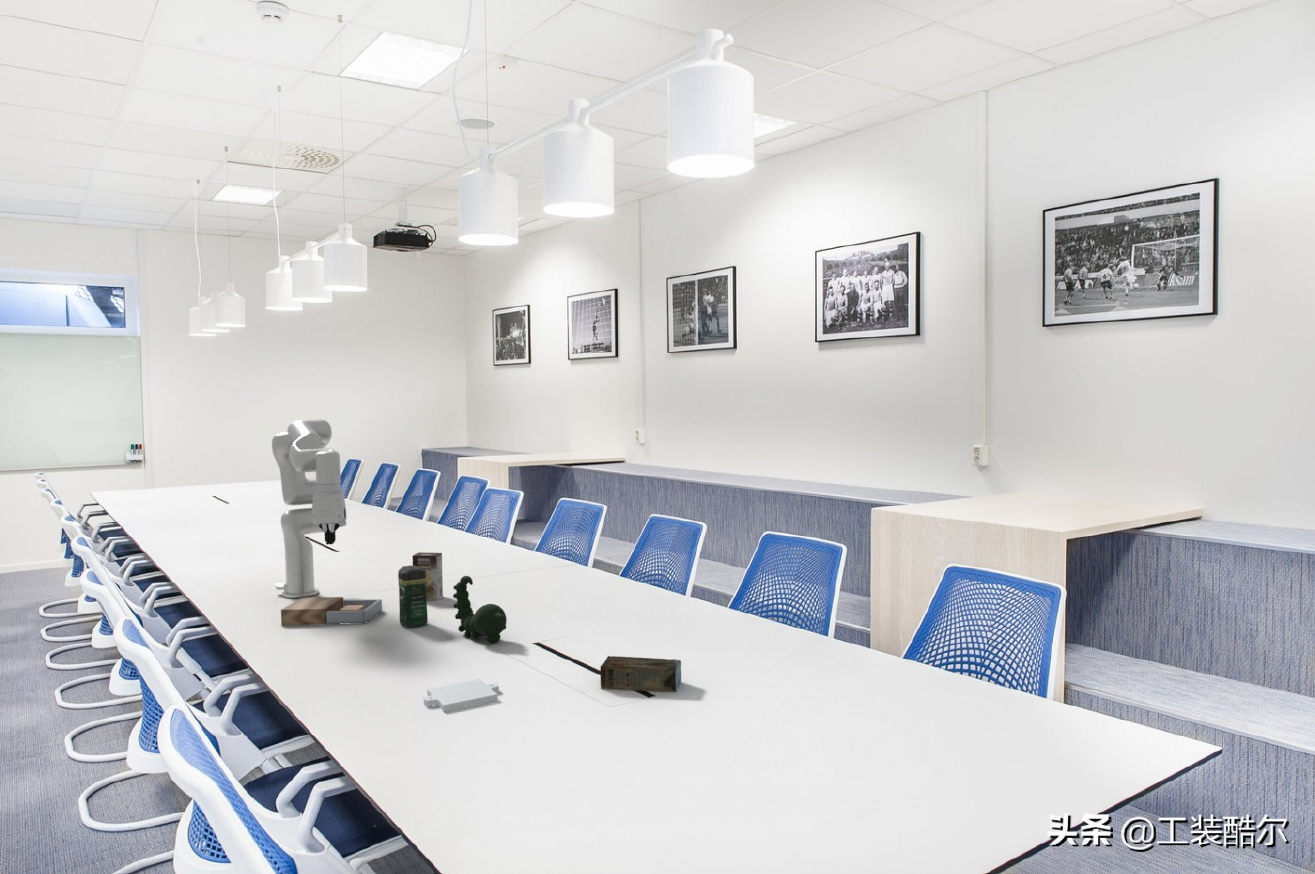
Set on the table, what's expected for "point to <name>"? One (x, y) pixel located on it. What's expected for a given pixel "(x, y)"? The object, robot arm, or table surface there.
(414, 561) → the coffee box
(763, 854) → the table surface
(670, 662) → the dark brown boxy piece
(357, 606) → the block
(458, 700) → the mounting plate
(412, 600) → the coffee jar
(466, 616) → the toy figurine
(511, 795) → the table surface
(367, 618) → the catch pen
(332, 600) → the platform
